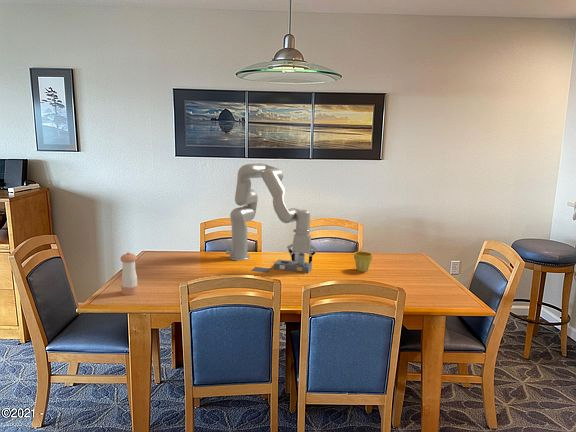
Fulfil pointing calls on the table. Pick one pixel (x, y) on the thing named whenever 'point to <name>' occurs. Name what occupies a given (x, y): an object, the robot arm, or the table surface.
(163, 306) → the table surface
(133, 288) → the salt shaker
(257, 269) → the mat
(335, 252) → the table surface
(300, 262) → the plug
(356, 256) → the plant pot
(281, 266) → the socket strip
